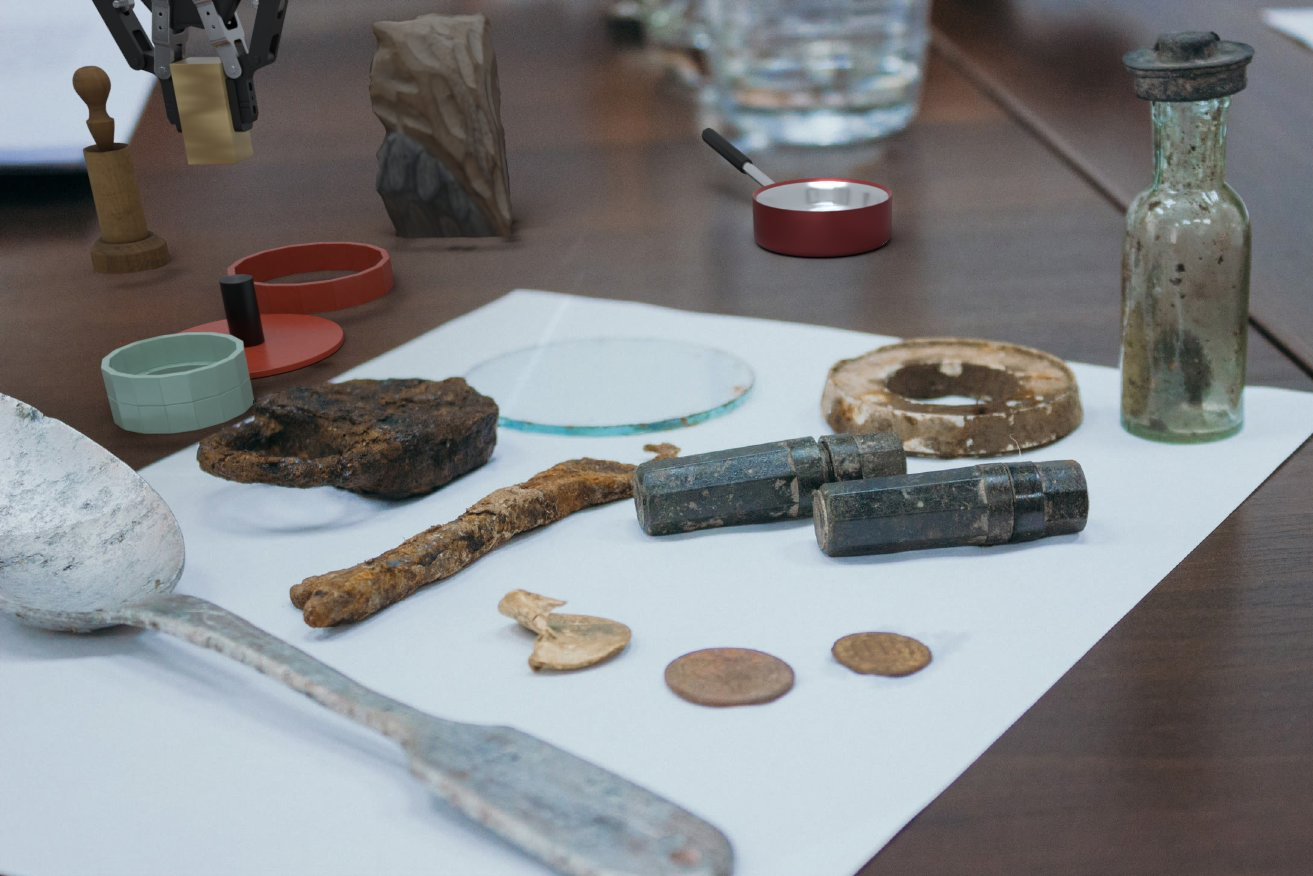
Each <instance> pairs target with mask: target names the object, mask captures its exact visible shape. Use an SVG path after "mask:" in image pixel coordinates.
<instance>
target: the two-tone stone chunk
mask: <svg viewBox="0 0 1313 876" xmlns="http://www.w3.org/2000/svg"><path fill="white" fill-rule="evenodd" d="M371 29H372V32H373V36H374V37H375V38H376V48H375V51H374V52H373V55H372V58H371V62H370V66H369V74H368V75H369V79H370V83H369V85H368V90H369V97H370V98H369V99H370V102H371V109H372V113H373V114H374V115H375V116H376V117H377V119H378V120H379V122H380V123H381V124H382V125H383V127H384V131H385V135H384V138H383V140H382V143H381V144H380V146H379V148H378V149H377V151H376V153H375V157H376V159H377V162H378V171H377V173H376V174H375V175H376V176H375V179H376V180H375V188H376V189H375V191H376V192H377V193H378V195H379V196H380V197H381V199H382V202H383V205H384V208H385V210H386V213H387V215H388V217H389V219H390V221H391V223H392V225H393V227H394V229H395V232H396V237H397V238H401V239H430V238H431V239H432V238H433V239H445V238H446V239H447V238H448V239H449V238H453V239H454V238H469V239H477V238H479V239H480V238H500V237H501V238H503V237H512V234H513V233H512V225H513V223H514V217H513V205H512V202H511V200H512V199H511V189H510V185H511V184H510V174H509V168H508V158H507V149H506V139H505V128H504V125H503V123H502V119H501V102H502V101H501V95H502V93H501V89H500V79H499V73H498V62H497V57H496V56H497V55H496V52H495V49H494V47H493V28H492V24H491V21H490V19H489V18H488V17H487V16H486V14H485V12H484V10H480V11H477V12H475V13H473V14H464V13H459V14H451V13H444V12H440V13H437V12H430V13H426V14H420V15H418V16H416V17H415V19H410V20H403V21H393V20H381V21H373V23H372V24H371Z"/></svg>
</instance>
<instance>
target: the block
mask: <svg viewBox="0 0 1313 876" xmlns="http://www.w3.org/2000/svg"><path fill="white" fill-rule="evenodd" d="M170 69H171V74H172V80H173V85H174V90H175V95H176V101H177V106H178V111H179V117H180V122H181V127H182V132H183V133H182V138H183V141H184V142H183V143H184V147H185V155H186V159H187V163H188V165H189V166H201V165H203V166H205V165H206V166H208V165H215V166H216V165H237V164H239V163H241V162H243V161H244V160H247V159H249V158H250V157H252V156H254V149H253V144H252V138H251V131H250V130H248V131H246V132H235V131H234V128H233V124H232V118H231V112H230V106H229V100H228V95H227V89H226V83H225V80H226V79H229V78H228V76H227V75H226V73H225V71H224V68H223V66H222V63H221V61H220V58H219V56H189V57H187V58H186V57H185V59H183V60H180V61H177V62H175V63H172V64H170Z"/></svg>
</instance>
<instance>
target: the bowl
mask: <svg viewBox="0 0 1313 876" xmlns="http://www.w3.org/2000/svg"><path fill="white" fill-rule="evenodd" d="M177 333H178V334H176V333H170V334H164V335H163V334H162V335H158V336H154V337H149V338H145V339H142V340H136V341H134V342H130V343H129V344H126V345H124V346H121V347H119V348H116V349H114V350H112V351H111V352H110V353H108V354H107V355H106V356H104V357H103V358H102V359H101V365H100V370H101V374H102V379H103V383H104V387H105V390H106V395H107V398H108V403H109V406H110V411H111V415H112V419H113V423H114V424H115V425H116V426H118V427H119V428H121V429H122V430H124V431H128V432H131V433H132V432H133V433H136V434H137V433H138V434H144V435H162V434H163V435H168V434H170V435H171V434H172V435H173V434H178V433H184V432H185V433H186V432H192V431H199V430H203V429H207V428H209V427H213V426H217V425H221V424H223V423H227V422H229V421H231V420H233V419H235V418H237V417H239V416H242V415H244V414H245V413H246V412H247V411H248V410H249V409H250V408H252V406H253V405H254V404H253V400H254V401H255V394H254V390H253V383H252V379H250V374H249V369H248V363H247V358H246V353H245V348H244V343H243V341H242V340H240V339H238V338H236V337H234V336H232V335H227V334H221V333H214V332H188V333H187V332H186V333H179V332H177Z"/></svg>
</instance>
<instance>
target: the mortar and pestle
mask: <svg viewBox="0 0 1313 876" xmlns="http://www.w3.org/2000/svg"><path fill="white" fill-rule="evenodd" d="M72 87H73V89H74V92H75V93H76V94H77V95H78V97H79V98H80V99H81V100H82V101H83V103H84V104H85V105H86V107H87V109H88V118H87V119H86V120H85V124H86V127H87V129H88V131H89V133H90V135H91V137H92V139H93V140H94V143H95V144H91V145H87V146H86V147H83V148H82V154H83V157H84V158H83V159H84V162H85V166H86V170H87V174H88V178H89V183H90V187H91V192H92V196H93V202H94V205H95V210H96V211H95V212H96V216H97V219H98V224H99V229H100V234H101V236H100V237H98V238H97V239H96V240H95V242H94V243H93V244H92V245H91V246H90V247H89V256H90V260H91V264H92V265H91V266H92V269H93V270H92V271H93V273H94V274H96V273H99V274H107V275H108V274H110V275H118V274H119V275H121V274H130V273H137V272H144V271H149V270H157V269H159V268H162V267H164V266H166V265H168V264H169V263H170V262H171V256H170V253H169V249H168V243H167V241H166V239H165V238H163V237H161V236H159V235H158V234H157V233H155V232H154V231H151V230H149V229H148V226H147V219H146V215H145V211H144V206H143V202H142V197H141V192H140V187H139V183H138V178H137V175H136V168H135V164H134V160H133V155H132V150H131V145H130V144H128V143H125V142H115V130H116V129H115V128H116V127H115V126H116V125H115V118H114V117H112V116H110V115H109V114H108V112H107V101H108V99H109V96H110V93H111V89H112V81H111V79H110V76H109V75H108V73H107V72H106V71H105V70H104V69H103V68H101V67H99V66H97V65H85V66H84V65H83V66H82V67H79V68H77V69H76V70H75V71H74V72H73V74H72Z"/></svg>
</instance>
